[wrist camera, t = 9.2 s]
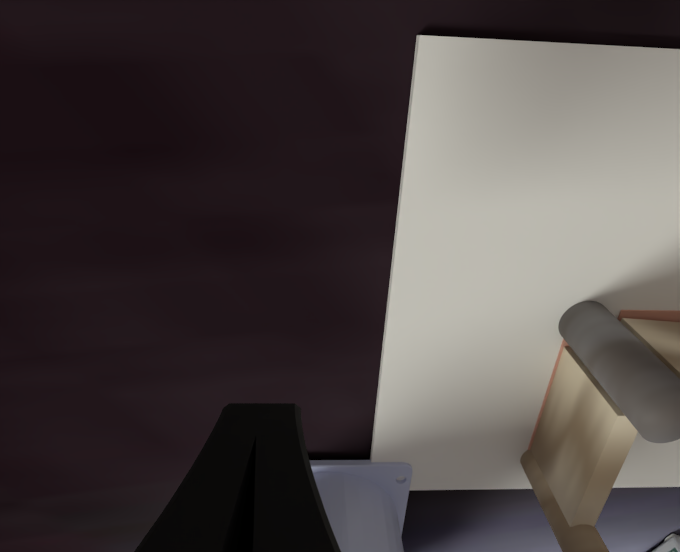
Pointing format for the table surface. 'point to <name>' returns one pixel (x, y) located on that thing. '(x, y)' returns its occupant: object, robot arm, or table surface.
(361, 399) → the table surface
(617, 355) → the fixed fence section
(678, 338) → the beige long t-shaped piece
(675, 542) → the syrup box
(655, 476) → the mat
